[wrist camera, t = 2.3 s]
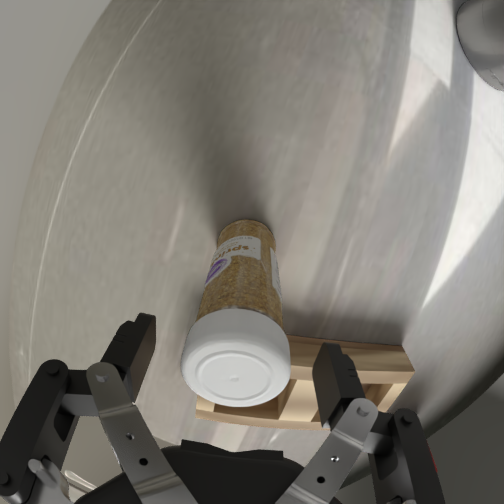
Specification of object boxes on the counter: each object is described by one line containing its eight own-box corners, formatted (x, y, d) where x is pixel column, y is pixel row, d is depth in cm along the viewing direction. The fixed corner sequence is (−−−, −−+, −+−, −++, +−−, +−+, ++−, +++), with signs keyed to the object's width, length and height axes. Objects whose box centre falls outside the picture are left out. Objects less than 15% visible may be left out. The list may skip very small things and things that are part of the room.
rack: (209, 322, 27) (202, 352, 23) (401, 345, 28) (415, 371, 24) (200, 389, 31) (195, 417, 27) (364, 404, 32) (372, 429, 28)
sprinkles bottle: (233, 207, 22) (203, 318, 10) (286, 234, 23) (315, 363, 11) (207, 256, 24) (164, 388, 12) (258, 280, 25) (257, 421, 12)
